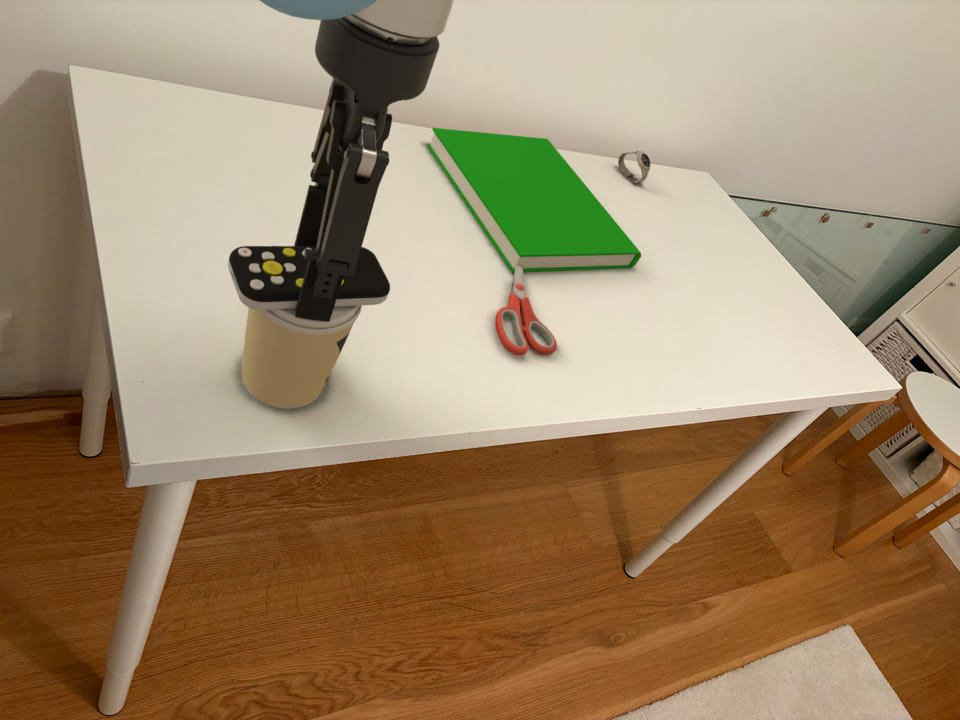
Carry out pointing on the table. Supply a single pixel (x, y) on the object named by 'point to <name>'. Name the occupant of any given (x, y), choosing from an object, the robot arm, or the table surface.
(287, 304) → the remote control
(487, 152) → the book
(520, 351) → the scissors
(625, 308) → the table surface
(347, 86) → the robot arm
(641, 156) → the wristwatch
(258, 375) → the coffee cup
